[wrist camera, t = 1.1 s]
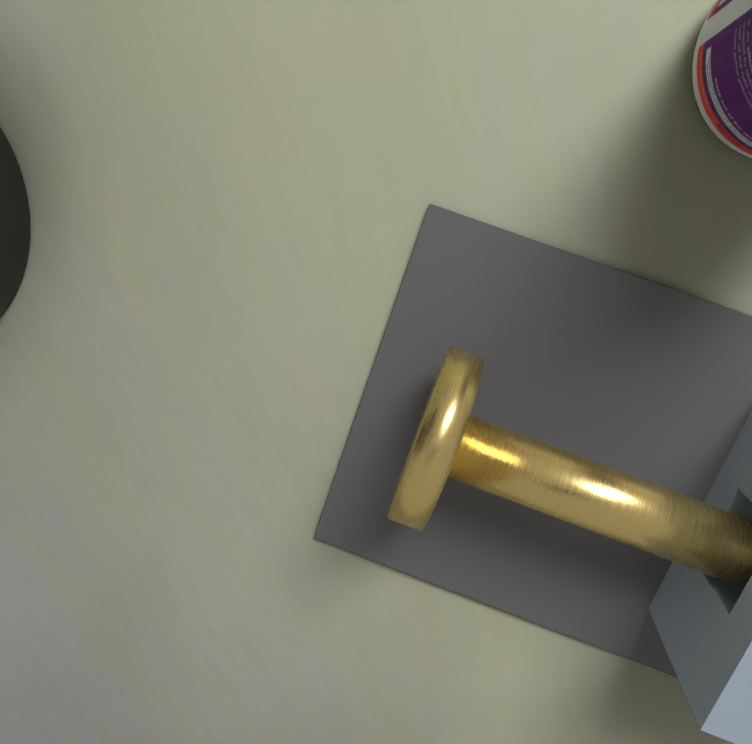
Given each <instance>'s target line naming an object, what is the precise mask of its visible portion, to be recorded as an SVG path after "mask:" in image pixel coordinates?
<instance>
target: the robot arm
mask: <svg viewBox="0 0 752 744" xmlns="http://www.w3.org/2000/svg"><path fill="white" fill-rule="evenodd" d="M29 241H30V213H29V204H28V198H27V193H26V188H25V184H24V180H23V176H22V173H21V170H20V167H19V164H18V162H17V159H16V157H15V154H14V152H13V150H12V148H11V146H10V144H9V142H8V140H7V138H6V136H5V135H4V133H3V131H2V130H1V128H0V315H1V314H2V313H3V312H4V310H5V309H6V307H7V306H8V305H9V303H10V301H11V300H12V298H13V296H14V294H15V292H16V290H17V288H18V286H19V284H20V281H21V279H22V276H23V273H24V269H25V266H26V261H27V257H28V250H29Z"/></svg>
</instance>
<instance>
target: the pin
mask: <svg viewBox="0 0 752 744" xmlns="http://www.w3.org/2000/svg"><path fill="white" fill-rule="evenodd" d="M483 365H484V358H482V357H479V356H476V355H474V354H471V353H468V352H465V351H463V350H460V349H457V348H454V347H452V346H449V347H448V349H447V351H446V353H445V356H444V358H443V360H442V363H441V365H440V368H439V370H438V373H437V375H436V378H435V380H434V383H433V385H432V388H431V391H430V393H429V396H428V398H427V401H426V404H425V406H424V409H423V412H422V414H421V417H420V420H419V422H418V425H417V428H416V431H415V433H414V436H413V439H412V442H411V444H410V447H409V450H408V453H407V456H406V458H405V461H404V464H403V467H402V470H401V473H400V476H399V479H398V482H397V484H396V487H395V490H394V494H393V497H392V500H391V503H390V506H389V509H388V513H387V519H390V520H392V521H395V522H398V523H400V524H403V525H406V526H408V527H411V528H413V529H416V530H419V531H422V530H423V529H424V527H425V526H426V524H427V522H428V520H429V518H430V517H431V514H432V512H433V510H434V508H435V506H436V504H437V502H438V499H439V497H440V495H441V492H442V490H443V487H444V485H445V483H446V480H447V478H451V479H453V480H456V481H459V482H461V483H464V484H467V485H469V486H472V487H475V488H477V489H480V490H483V491H485V492H488V493H491V494H493V495H496V496H499V497H501V498H504V499H507V500H509V501H512V502H515V503H517V504H520V505H523V506H525V507H528V508H531V509H533V510H536V511H539V512H542V513H544V514H547V515H550V516H552V517H555V518H558V519H560V520H563V521H566V522H568V523H571V524H574V525H576V526H579V527H582V528H584V529H587V530H590V531H592V532H595V533H598V534H600V535H603V536H606V537H608V538H611V539H614V540H616V541H619V542H622V543H624V544H627V545H630V546H632V547H635V548H638V549H640V550H643V551H646V552H648V553H651V554H654V555H656V556H659V557H662V558H664V559H667V560H670V561H672V562H675V563H678V564H680V565H683V566H686V567H688V568H691V569H694V570H697V571H699V572H702V573H705V574H707V575H710V576H713V577H715V578H718V579H721V580H723V581H726V582H729V583H731V584H734V585H737V586H739V587H742V588H745V586H746V584H747V583H748V581H749V579H750V577H751V575H752V519H750V518H747V517H744V516H742V515H739V514H736V513H733V512H731V511H728V510H725V509H723V508H720V507H717V506H714V505H712V504H709V503H706V502H704V501H701V500H698V499H695V498H693V497H690V496H687V495H685V494H682V493H679V492H676V491H674V490H671V489H668V488H666V487H663V486H660V485H657V484H655V483H652V482H649V481H647V480H644V479H641V478H638V477H636V476H633V475H630V474H628V473H625V472H622V471H619V470H617V469H614V468H611V467H608V466H606V465H603V464H600V463H598V462H595V461H592V460H589V459H587V458H584V457H581V456H579V455H576V454H573V453H570V452H568V451H565V450H562V449H560V448H557V447H554V446H551V445H549V444H546V443H543V442H541V441H538V440H535V439H532V438H530V437H527V436H524V435H522V434H519V433H516V432H513V431H511V430H508V429H505V428H503V427H500V426H497V425H494V424H492V423H489V422H486V421H483V420H481V419H478V418H475V417H473V416H470V414H471V410H472V407H473V404H474V401H475V397H476V394H477V391H478V387H479V383H480V379H481V375H482V371H483Z"/></svg>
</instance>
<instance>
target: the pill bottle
mask: <svg viewBox="0 0 752 744" xmlns="http://www.w3.org/2000/svg"><path fill="white" fill-rule="evenodd" d="M692 79H693V88H694V94H695V98H696V101H697V104H698V107H699V110H700V112H701V114H702V116H703V118H704V120H705V121H706V123H707V125H708V126H709V127H710V129H711V130H712V131H713V132H714V133H715V135H716V136H717V137H718V138H719V139H720V140H721V141H723V142H724V143H725V144H726V145H728V146H729V147H730V148H732V149H733V150H735V151H737V152H739V153H741V154H743V155H745V156H747V157H750V158H752V0H717V1H716V3H715V4H714V6H713V7H712V9H711V11H710V12H709V14H708V16H707V18H706V20H705V22H704V24H703V26H702V28H701V31H700V33H699V36H698V40H697V43H696V47H695V52H694V57H693V67H692Z"/></svg>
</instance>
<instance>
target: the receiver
mask: <svg viewBox="0 0 752 744" xmlns="http://www.w3.org/2000/svg"><path fill="white" fill-rule="evenodd" d="M704 502H706V503H709V504H712V505H714V506H717V507H720V508H723V509H725V510H728V511H731V512H733V513H736V514H739V515H742V516H744V517H747V518H750V519H752V410H751V412H750V414H749V416H748V418H747V420H746V422H745V424H744V426H743V428H742V429H741V431H740V433H739V435H738V437H737V439H736V441H735V443H734V445H733V447H732V449H731V451H730V452H729V454H728V456H727V458H726V460H725V462H724V464H723V466H722V468H721V470H720V472H719V474H718V476H717V477H716V479H715V481H714V483H713V485H712V487H711V489H710V491H709V493H708V495H707V497H706V499H705V501H704ZM648 609H649V612H650V614H651V616H652V619H653V621H654V623H655V626H656V628H657V630H658V633H659V635H660V637H661V640H662V642H663V644H664V647H665V649H666V651H667V654H668V656H669V658H670V661H671V663H672V665H673V668H674V670H675V672H676V675H677V677H678V679H679V682H680V684H681V686H682V689H683V691H684V693H685V696H686V698H687V700H688V703H689V705H690V707H691V710H692V712H693V714H694V717H695V719H696V721H697V724H698V726H699V728H700V730H701V731H704V732H706V733H709V734H711V735H714V736H717V737H719V738H722V739H724V740H727V741H729V742H732V743H735V744H752V575H751V577H750V579H749V581H748V583H747V584H746V586H745V588H742V587H739V586H737V585H734V584H731V583H729V582H726V581H723V580H721V579H718V578H715V577H713V576H710V575H707V574H705V573H702V572H699V571H697V570H694V569H691V568H688V567H686V566H683V565H680V564H678V563H675V562H672V564H671V566H670V568H669V570H668V572H667V574H666V575H665V577H664V579H663V581H662V583H661V585H660V587H659V589H658V591H657V593H656V595H655V597H654V598H653V600H652V602H651V604H650V606H649V608H648Z"/></svg>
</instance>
